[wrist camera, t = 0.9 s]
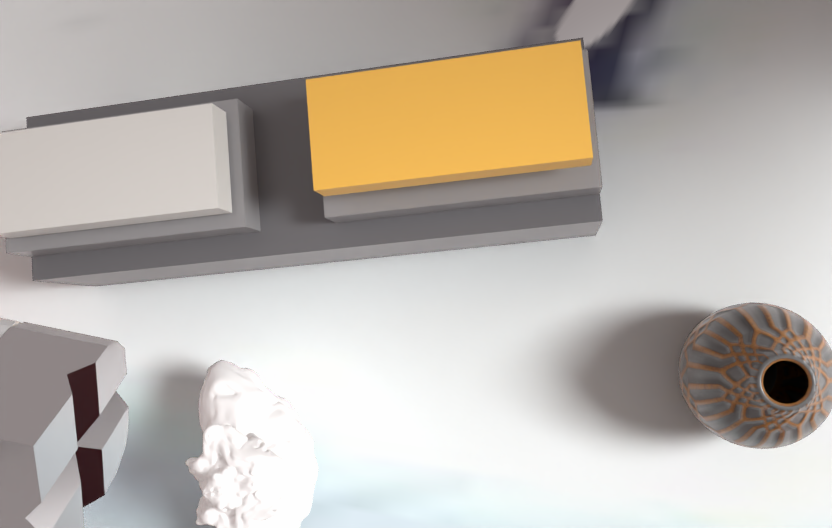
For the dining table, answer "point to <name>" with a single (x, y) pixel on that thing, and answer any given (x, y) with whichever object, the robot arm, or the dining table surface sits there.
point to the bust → (251, 454)
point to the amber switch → (450, 120)
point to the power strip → (311, 203)
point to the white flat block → (115, 171)
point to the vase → (757, 375)
